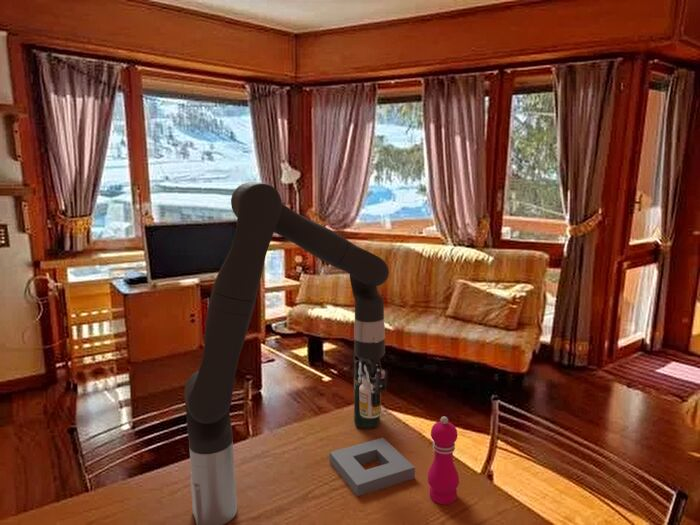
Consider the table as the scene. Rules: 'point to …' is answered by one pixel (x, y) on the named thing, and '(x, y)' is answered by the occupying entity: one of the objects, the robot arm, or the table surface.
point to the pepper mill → (443, 463)
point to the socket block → (375, 478)
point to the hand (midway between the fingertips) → (370, 400)
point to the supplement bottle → (367, 400)
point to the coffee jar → (358, 419)
